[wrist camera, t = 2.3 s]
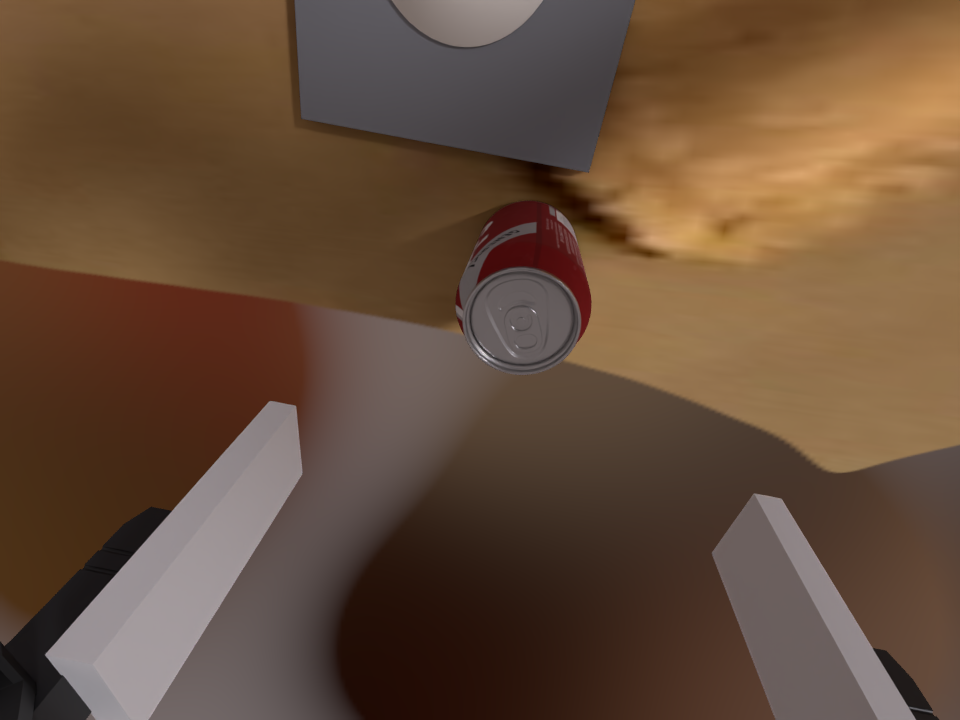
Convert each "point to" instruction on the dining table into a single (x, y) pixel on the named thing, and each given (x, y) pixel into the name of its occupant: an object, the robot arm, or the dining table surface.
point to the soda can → (524, 290)
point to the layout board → (465, 71)
